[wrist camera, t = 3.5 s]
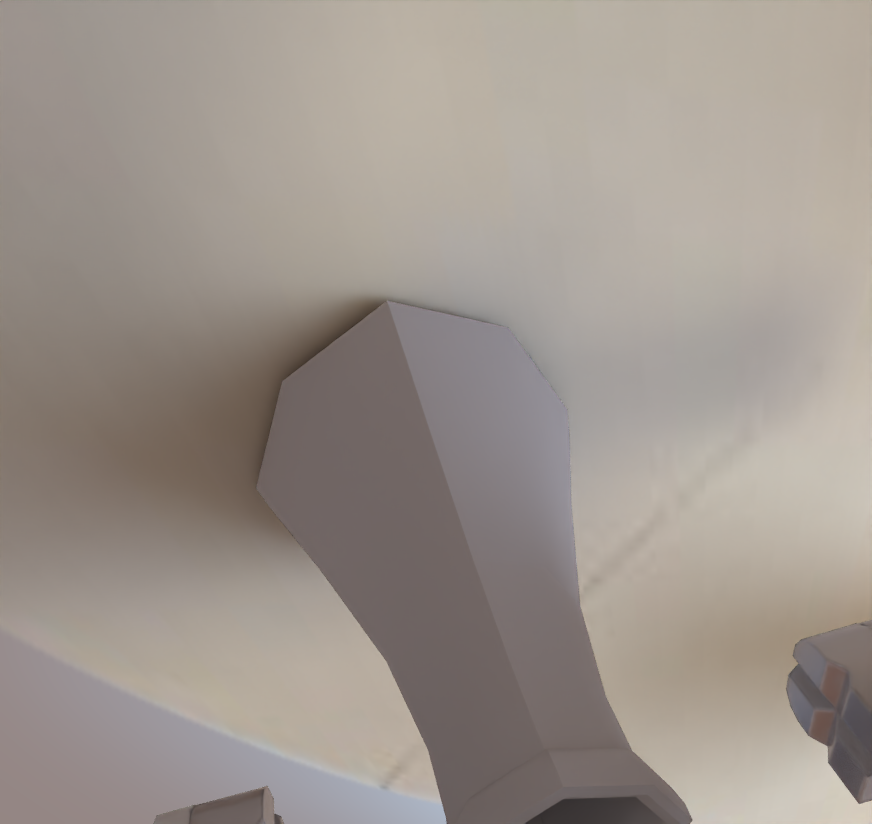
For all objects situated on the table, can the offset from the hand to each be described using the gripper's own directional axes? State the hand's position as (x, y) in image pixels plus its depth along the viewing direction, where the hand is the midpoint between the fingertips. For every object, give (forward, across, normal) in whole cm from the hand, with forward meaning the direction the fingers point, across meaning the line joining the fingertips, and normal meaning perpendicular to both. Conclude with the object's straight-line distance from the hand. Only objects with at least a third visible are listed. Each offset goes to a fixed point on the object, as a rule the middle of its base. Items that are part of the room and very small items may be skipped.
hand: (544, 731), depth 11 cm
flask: (+8, 0, 0) cm, 8 cm away
